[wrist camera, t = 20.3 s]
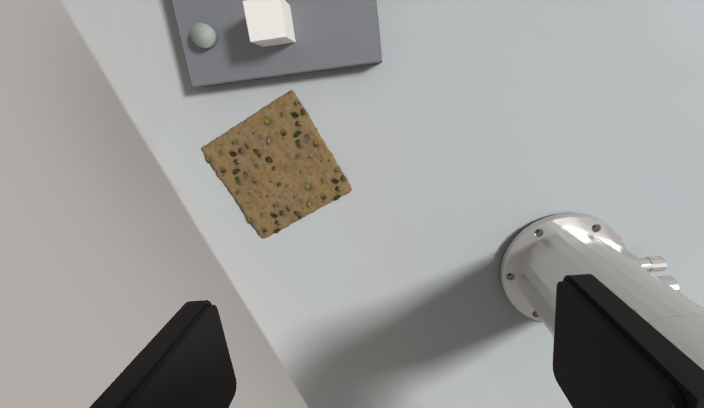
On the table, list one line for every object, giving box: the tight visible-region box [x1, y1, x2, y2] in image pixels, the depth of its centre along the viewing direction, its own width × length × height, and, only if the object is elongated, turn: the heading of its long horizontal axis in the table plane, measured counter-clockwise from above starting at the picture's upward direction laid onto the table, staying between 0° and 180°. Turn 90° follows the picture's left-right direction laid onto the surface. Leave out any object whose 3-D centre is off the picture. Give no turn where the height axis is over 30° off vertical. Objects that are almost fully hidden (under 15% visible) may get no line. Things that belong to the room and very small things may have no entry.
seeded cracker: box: [201, 90, 352, 238], centre depth 38 cm, size 12×12×1 cm
